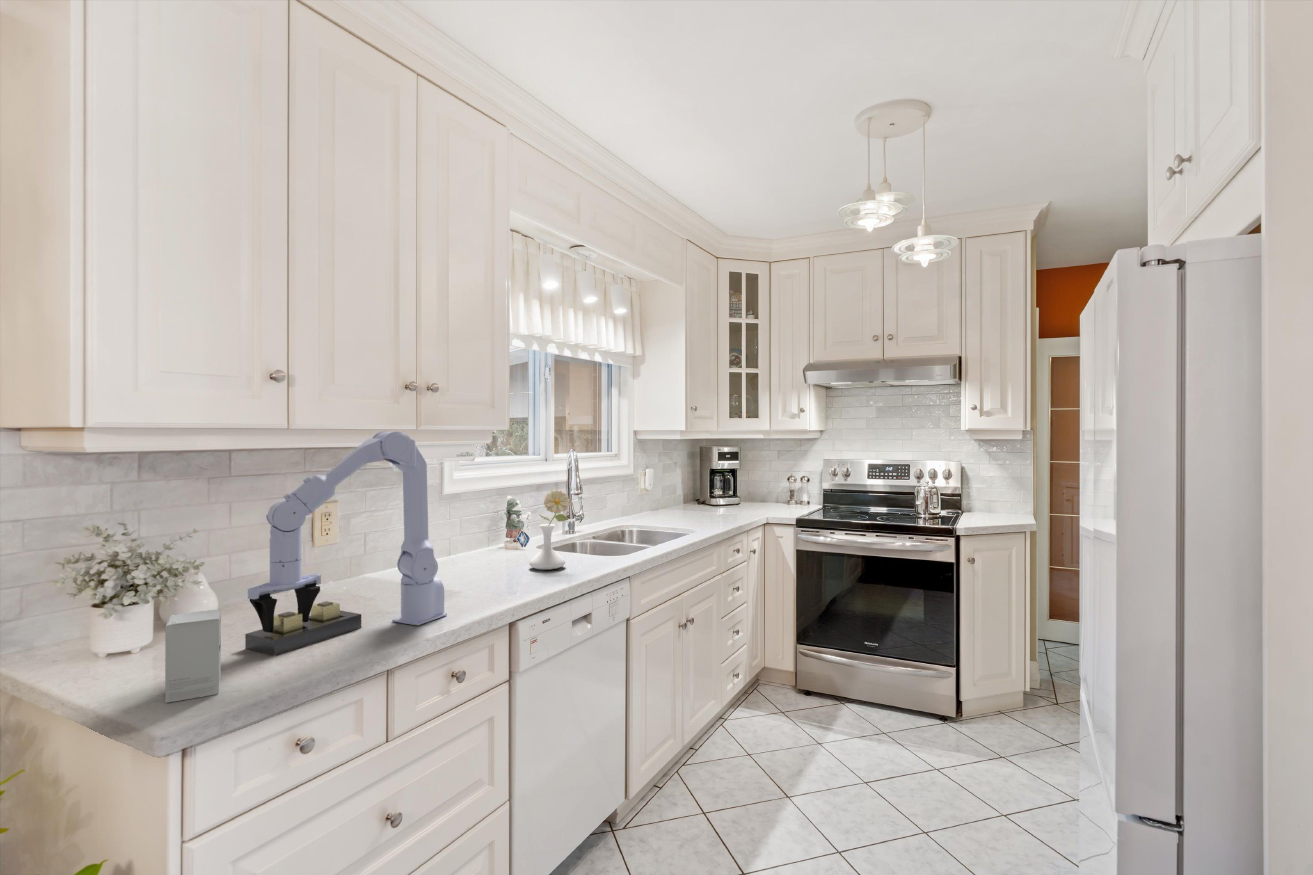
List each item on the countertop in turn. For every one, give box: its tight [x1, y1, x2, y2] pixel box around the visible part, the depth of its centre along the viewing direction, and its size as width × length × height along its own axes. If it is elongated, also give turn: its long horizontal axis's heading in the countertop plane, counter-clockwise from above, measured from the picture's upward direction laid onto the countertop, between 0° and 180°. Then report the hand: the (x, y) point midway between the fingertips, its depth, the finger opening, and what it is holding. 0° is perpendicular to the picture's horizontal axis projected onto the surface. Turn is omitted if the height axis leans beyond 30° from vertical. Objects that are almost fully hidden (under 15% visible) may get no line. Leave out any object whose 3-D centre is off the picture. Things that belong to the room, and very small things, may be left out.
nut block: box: [271, 611, 302, 635], centre depth 133 cm, size 4×4×6 cm
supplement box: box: [164, 608, 222, 703], centre depth 109 cm, size 7×7×13 cm
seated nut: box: [310, 600, 341, 623], centre depth 141 cm, size 4×4×6 cm
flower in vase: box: [528, 489, 571, 571], centre depth 206 cm, size 13×11×25 cm
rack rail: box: [244, 610, 362, 656], centre depth 137 cm, size 20×9×3 cm, turn 154°
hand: (286, 626), depth 133 cm, fingers open, 7 cm apart
